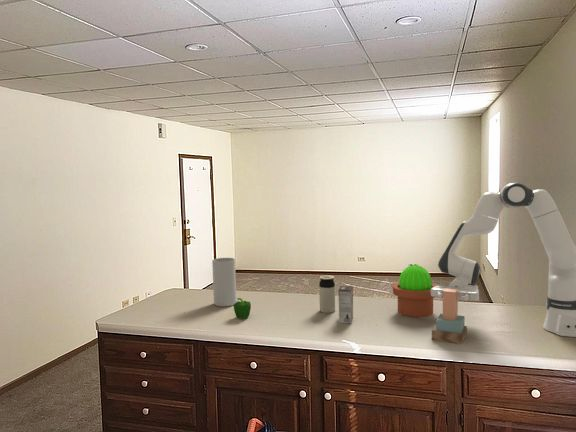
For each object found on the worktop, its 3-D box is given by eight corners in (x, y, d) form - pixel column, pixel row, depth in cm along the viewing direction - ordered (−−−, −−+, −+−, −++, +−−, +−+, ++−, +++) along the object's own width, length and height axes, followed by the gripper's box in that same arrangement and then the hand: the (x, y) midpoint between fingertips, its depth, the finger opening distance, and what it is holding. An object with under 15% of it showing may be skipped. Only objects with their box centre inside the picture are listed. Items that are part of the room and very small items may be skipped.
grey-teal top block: (464, 326, 204) (464, 316, 203) (461, 333, 195) (461, 322, 194) (440, 323, 208) (440, 313, 208) (436, 330, 199) (436, 319, 199)
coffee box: (340, 317, 234) (340, 285, 232) (353, 317, 233) (353, 285, 231) (338, 323, 225) (338, 290, 224) (352, 323, 224) (351, 290, 222)
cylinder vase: (227, 299, 272) (226, 256, 270) (241, 303, 263) (239, 259, 261) (209, 304, 264) (207, 260, 261) (222, 308, 254) (220, 262, 252)
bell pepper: (254, 317, 237) (254, 297, 236) (242, 321, 231) (241, 301, 230) (243, 314, 243) (242, 295, 242) (231, 317, 237) (230, 298, 236)
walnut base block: (466, 336, 204) (466, 326, 204) (461, 345, 194) (461, 334, 193) (438, 332, 210) (438, 322, 210) (431, 340, 200) (431, 330, 200)
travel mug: (330, 314, 240) (330, 279, 238) (317, 311, 244) (316, 277, 242) (337, 310, 246) (337, 276, 245) (324, 308, 250) (323, 274, 249)
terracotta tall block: (457, 316, 202) (457, 289, 201) (454, 320, 198) (454, 292, 197) (445, 315, 205) (445, 288, 204) (442, 318, 201) (442, 290, 199)
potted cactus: (436, 321, 224) (436, 269, 222) (389, 316, 232) (389, 267, 230) (439, 308, 245) (439, 260, 242) (396, 305, 253) (396, 259, 250)
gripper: (434, 281, 219) (426, 287, 207) (481, 285, 208) (476, 292, 197) (434, 294, 219) (426, 302, 208) (481, 299, 209) (476, 307, 197)
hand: (451, 297), depth 202 cm, fingers open, 8 cm apart
